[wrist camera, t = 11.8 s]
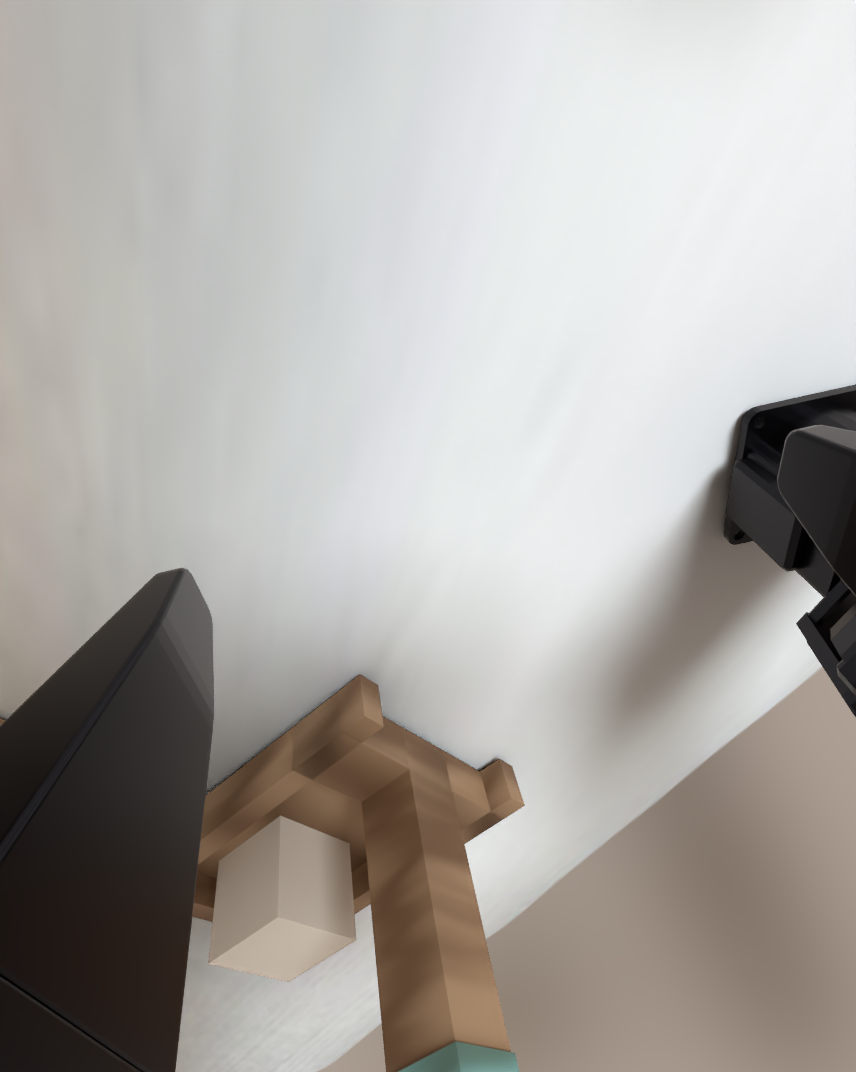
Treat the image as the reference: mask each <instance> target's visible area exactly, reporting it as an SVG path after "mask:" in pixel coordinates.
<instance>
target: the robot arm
mask: <svg viewBox="0 0 856 1072" xmlns="http://www.w3.org/2000/svg"><path fill="white" fill-rule="evenodd" d="M759 417H760V419H759V420H758V421H757V422H756V423H755V424H754V422H755V420H756V419H757V418H759ZM738 531H739V532H738ZM737 532H738V533H737ZM724 537H725V538H726V539H727V540H728V541H729V542H730V543H731V544H733V545H735V544H741V543H746V542H750V541H754V542H755V543H756V544H757V545H758V546H760V547H761V548H762V549H763V550H764V551H765V552H766V553H767V554H768V555H769V556H770V557H771V558H772V559H773V560H774V561H775V562H776V563H777V564H778V565H779V566H780V567H782V568H783V569H784V570H786V571H793V570H795V571H796V572H797V573H799V574H800V575H801V576H802V577H803V578H804V579H805V580H806V581H807V582H808V583H809V584H810V585H811V586H812V587H813V588H814V589H816V590H817V591H818V592H819V593H820V594H821V595H822V596H823V597H824V598H823V599H822V600H821V601H820V602H819V603H818V604H817V605H816V606H815V607H814V609H813V610H812V611H811V612H810V613H807V612H806V613H805V614H804V615H803V617H802V618H801V619H800V620H799V621H798V622H797V623H796V624H797V626H798V627H799V629H800V630H801V632H802V633H803V635H804V637H805V638H806V640H807V643H808V645H809V646H810V648H811V649H812V651H813V652H814V654H815V656H816V657H817V659H818V660H819V662H820V663H821V665H822V666H823V668H824V669H825V671H826V672H827V674H828V676H829V677H830V678H831V680H832V682H833V683H834V685H835V686H836V688H837V690H838V691H839V693H840V694H841V696H842V697H843V699H844V700H845V702H846V703H847V705H848V706H849V708H850V710H851V711H852V713H853V714H854V715H855V716H856V385H852V386H847V387H843V388H838V389H834V390H829V391H825V392H820V393H816V394H811V395H807V396H802V397H798V398H793V399H788V400H784V401H779V402H775V403H770V404H766V405H761V406H757V407H754V408H751V409H750V410H749V411H747V412H746V414H745V415H744V416H743V419H742V423H741V429H740V436H739V442H738V448H737V454H736V460H735V464H734V466H733V472H732V478H731V484H730V490H729V496H728V502H727V508H726V521H725V527H724ZM213 720H214V676H213V625H212V618H211V614H210V611H209V608H208V606H207V604H206V602H205V600H204V598H203V596H202V594H201V592H200V590H199V588H198V586H197V584H196V582H195V580H194V578H193V576H192V574H191V573H190V572H189V571H188V570H187V569H185V568H179V569H174V570H170V571H165V572H161V573H158V574H156V575H155V576H154V577H153V578H152V579H151V580H150V581H149V582H148V583H146V584H145V585H144V586H143V587H142V588H141V589H140V590H139V591H138V592H137V593H136V594H135V595H134V596H133V597H132V598H131V599H130V600H129V601H128V602H127V603H126V604H125V605H124V606H123V607H122V608H121V609H120V610H119V611H118V612H117V613H116V614H115V615H114V616H113V617H112V618H111V619H110V620H108V621H107V622H106V623H105V624H104V625H103V626H102V627H101V628H100V629H99V630H98V631H97V632H96V633H95V634H94V635H93V636H92V637H91V638H90V639H89V640H88V641H87V642H86V643H85V644H84V645H83V646H82V647H81V648H80V649H79V650H78V651H77V652H76V653H75V654H74V655H72V656H71V657H70V658H69V659H68V660H67V661H66V662H65V663H64V664H63V665H62V666H61V667H60V668H59V669H58V670H57V671H56V672H55V673H54V674H53V675H52V676H51V677H50V678H49V679H48V680H47V681H46V682H45V683H44V684H43V685H42V686H41V687H40V688H39V689H38V690H36V691H35V692H34V693H33V694H32V695H31V696H30V697H29V698H28V699H27V700H26V701H25V702H24V703H23V704H22V705H21V706H20V707H19V708H18V709H17V710H16V711H15V712H14V713H13V714H12V715H11V716H10V717H9V718H8V719H7V720H6V721H5V722H4V723H3V724H2V725H1V726H0V1072H175V1069H176V1060H177V1051H178V1042H179V1033H180V1024H181V1015H182V1005H183V996H184V987H185V978H186V969H187V960H188V951H189V942H190V933H191V923H192V914H193V905H194V896H195V887H196V878H197V869H198V860H199V851H200V842H201V832H202V823H203V814H204V805H205V796H206V787H207V778H208V769H209V760H210V750H211V741H212V732H213Z"/></svg>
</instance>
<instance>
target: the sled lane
mask: <svg viewBox="0 0 856 1072" xmlns="http://www.w3.org/2000/svg"><path fill="white" fill-rule="evenodd" d="M523 806H525V805H524V802H523V799H522V796H521V793H520V790H519V787H518V784H517V780H516V777H515V774H514V771H513V768H512V766H510V765H509V764H507V763H506V762H504V761H502V760H501V759H498V760H497V761H495V762H494V763H492V764H491V765H489V766H488V767H486V768H485V769H483V770H482V771H478V770H476V769H474V768H473V767H471V766H469V765H467V764H466V763H464V762H462V761H460V760H459V759H457V758H455V757H453V756H452V755H450V754H448V753H446V752H445V751H443V750H441V749H439V748H438V747H436V746H434V745H432V744H431V743H429V742H427V741H425V740H424V739H422V738H420V737H418V736H417V735H415V734H413V733H411V732H410V731H408V730H406V729H404V728H403V727H401V726H399V725H397V724H396V723H394V722H392V721H390V720H389V719H387V718H385V717H383V716H382V710H381V703H380V696H379V689H378V685H377V684H375V683H373V682H372V681H370V680H368V679H367V678H365V677H363V676H362V675H358V676H357V677H356V678H355V679H353V680H352V681H351V682H350V683H348V684H347V685H346V686H344V687H343V688H342V689H341V690H339V691H338V692H337V693H336V694H334V695H333V696H332V697H330V698H329V699H328V700H327V701H325V702H324V703H323V704H322V705H320V706H319V707H318V708H316V709H315V710H314V711H313V712H311V713H310V714H309V715H308V716H306V717H305V718H304V719H303V720H301V721H300V722H299V723H297V724H296V725H295V726H294V727H292V728H291V729H290V730H289V731H287V732H286V733H285V734H283V735H282V736H281V737H280V738H278V739H277V740H276V741H275V742H273V743H272V744H271V745H270V746H268V747H267V748H266V749H264V750H263V751H262V752H261V753H259V754H258V755H257V756H256V757H254V758H253V759H252V760H250V761H249V762H248V763H247V764H245V765H244V766H243V767H242V768H240V769H239V770H238V771H236V772H235V773H234V774H233V775H231V776H230V777H229V778H228V779H226V780H225V781H224V782H223V783H221V784H220V785H219V786H217V787H216V788H215V789H214V790H212V791H211V792H210V793H209V794H207V795H206V796H205V805H204V814H203V823H202V832H201V842H200V851H199V860H198V869H197V878H196V887H195V896H194V905H193V914H192V916H193V917H196V918H200V919H204V920H208V921H211V922H213V914H214V904H215V894H216V885H217V875H218V865H219V860H221V859H222V858H224V857H225V856H226V855H228V854H229V853H230V852H232V851H233V850H234V849H236V848H237V847H239V846H240V845H241V844H243V843H244V842H245V841H247V840H248V839H249V838H251V837H252V836H253V835H255V834H256V833H258V832H259V831H260V830H262V829H263V828H264V827H266V826H267V825H268V824H270V823H271V822H273V821H274V820H275V819H277V818H278V817H279V816H283V817H285V818H288V819H290V820H293V821H295V822H298V823H300V824H303V825H305V826H307V827H310V828H312V829H315V830H317V831H320V832H322V833H325V834H327V835H330V836H332V837H335V838H337V839H340V840H342V841H345V842H347V843H349V844H350V858H351V873H352V887H353V901H354V914H355V913H357V912H359V911H360V910H362V909H363V908H365V907H366V906H368V905H369V904H371V911H372V922H373V932H374V943H375V954H376V965H377V976H378V987H379V998H380V1009H381V1020H382V1030H383V1041H384V1051H385V1052H384V1053H385V1063H386V1072H519V1069H518V1064H517V1059H516V1055H515V1053H512V1052H511V1050H510V1046H509V1041H508V1037H507V1032H506V1028H505V1024H504V1019H503V1015H502V1010H501V1006H500V1001H499V997H498V992H497V988H496V984H495V979H494V975H493V970H492V966H491V961H490V957H489V952H488V948H487V943H486V939H485V935H484V930H483V926H482V921H481V917H480V912H479V908H478V903H477V899H476V894H475V890H474V886H473V881H472V877H471V872H470V868H469V863H468V859H467V854H466V850H465V846H464V844H465V843H467V842H468V841H470V840H471V839H473V838H474V837H476V836H478V835H479V834H481V833H482V832H484V831H485V830H487V829H489V828H490V827H492V826H493V825H495V824H496V823H498V822H500V821H501V820H503V819H504V818H506V817H507V816H509V815H511V814H512V813H514V812H515V811H517V810H518V809H520V808H521V807H523Z"/></svg>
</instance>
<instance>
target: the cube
mask: <svg viewBox="0 0 856 1072" xmlns="http://www.w3.org/2000/svg"><path fill="white" fill-rule="evenodd" d="M355 940H356V930H355V915H354V901H353V887H352V873H351V858H350V844H349V843H347V842H345V841H342V840H340V839H337V838H335V837H332V836H330V835H327V834H325V833H322V832H320V831H317V830H315V829H312V828H310V827H307V826H305V825H303V824H300V823H298V822H295V821H293V820H290V819H288V818H285V817H283V816H279V817H278V818H277V819H275V820H274V821H273V822H271V823H270V824H268V825H267V826H266V827H264V828H263V829H262V830H260V831H259V832H258V833H256V834H255V835H253V836H252V837H251V838H249V839H248V840H247V841H245V842H244V843H243V844H241V845H240V846H239V847H237V848H236V849H234V850H233V851H232V852H230V853H229V854H228V855H226V856H225V857H224V858H222V859H221V860H219V865H218V875H217V885H216V894H215V904H214V914H213V923H212V933H211V943H210V952H209V962H208V964H212V965H216V966H221V967H225V968H229V969H234V970H238V971H243V972H247V973H252V974H256V975H261V976H265V977H270V978H274V979H278V980H283V981H287V982H289V981H291V980H292V979H294V978H296V977H297V976H299V975H301V974H302V973H304V972H305V971H307V970H309V969H310V968H312V967H313V966H315V965H317V964H318V963H320V962H321V961H323V960H325V959H326V958H328V957H330V956H331V955H333V954H334V953H336V952H338V951H339V950H341V949H342V948H344V947H346V946H347V945H349V944H350V943H352V942H354V941H355Z"/></svg>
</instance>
